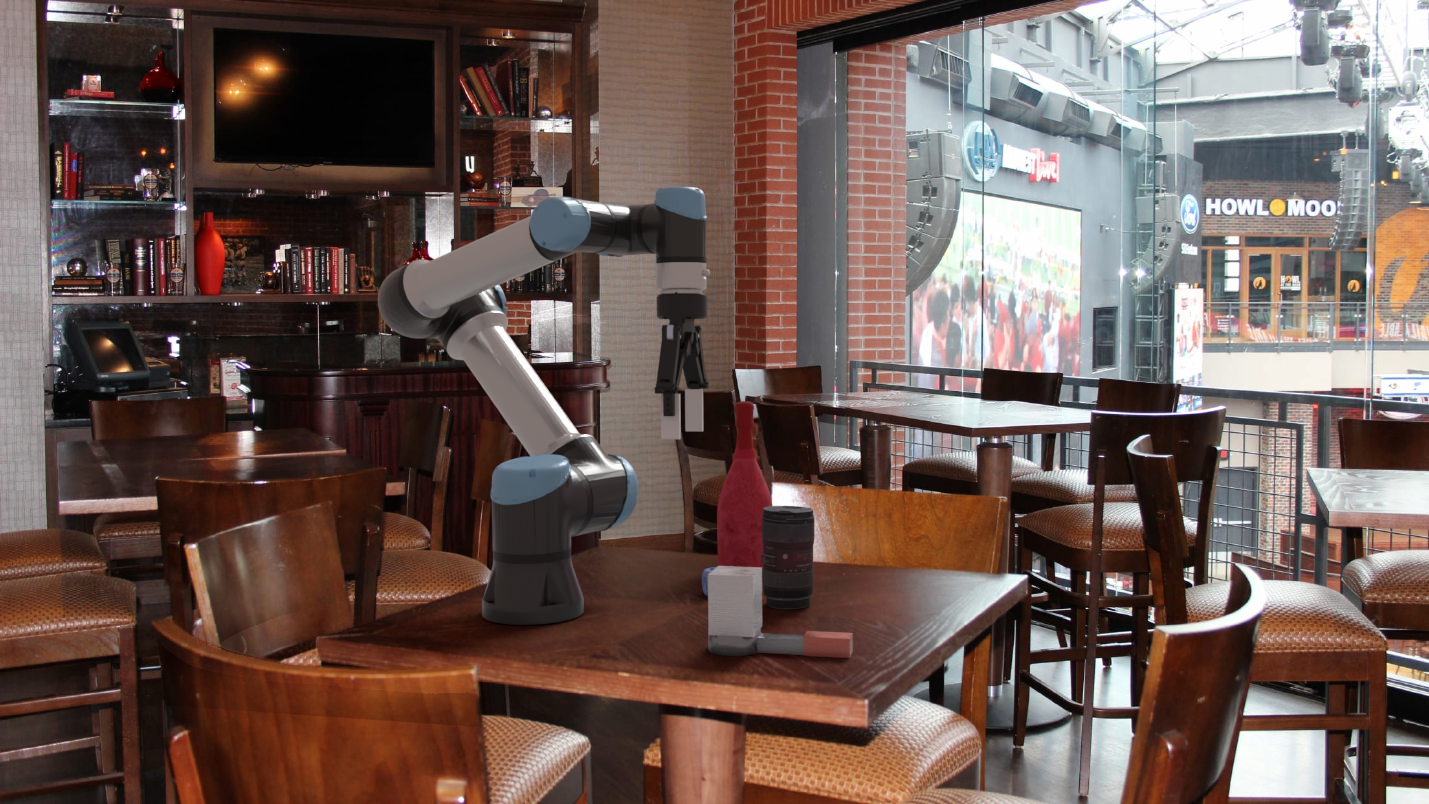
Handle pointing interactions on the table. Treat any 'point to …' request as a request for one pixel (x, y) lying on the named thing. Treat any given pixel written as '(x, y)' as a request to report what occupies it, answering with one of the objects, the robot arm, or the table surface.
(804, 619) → the table surface
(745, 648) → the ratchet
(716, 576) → the light grey block
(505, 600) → the robot arm
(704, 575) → the decorative dice
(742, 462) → the wine bottle
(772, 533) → the camera lens
